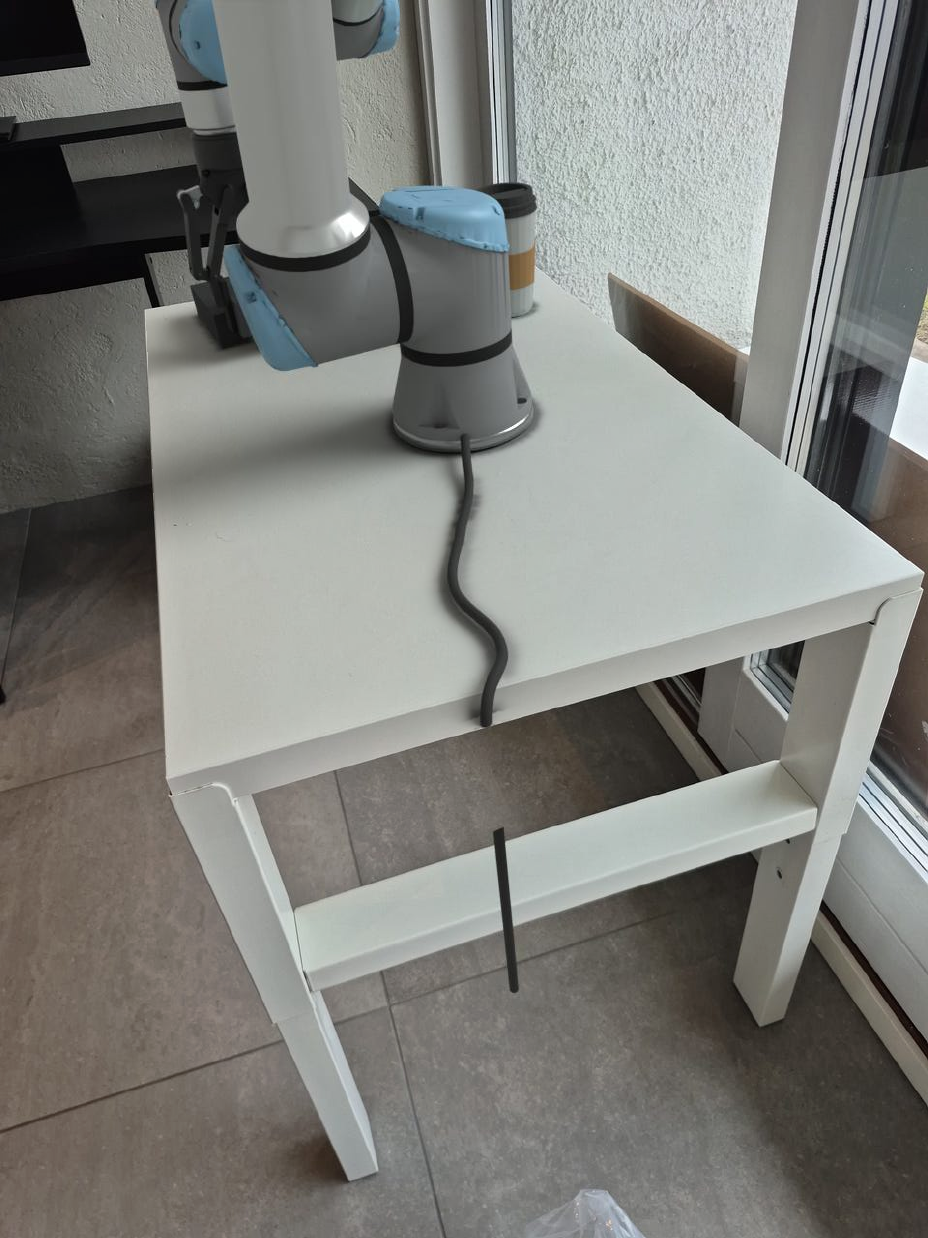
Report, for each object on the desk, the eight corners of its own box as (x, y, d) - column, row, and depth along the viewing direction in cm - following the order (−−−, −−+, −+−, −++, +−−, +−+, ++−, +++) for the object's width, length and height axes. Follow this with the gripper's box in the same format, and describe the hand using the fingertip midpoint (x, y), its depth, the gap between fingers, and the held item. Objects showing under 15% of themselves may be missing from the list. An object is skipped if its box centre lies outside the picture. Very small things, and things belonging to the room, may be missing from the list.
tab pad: (302, 322, 117) (295, 288, 114) (242, 338, 114) (234, 303, 111) (283, 302, 123) (276, 268, 120) (225, 316, 120) (217, 282, 117)
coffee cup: (468, 306, 124) (458, 189, 114) (522, 292, 126) (517, 177, 117) (495, 326, 118) (487, 204, 108) (551, 311, 120) (548, 190, 111)
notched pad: (307, 326, 123) (300, 293, 121) (221, 348, 120) (212, 315, 117) (277, 296, 133) (271, 266, 131) (198, 316, 130) (189, 285, 127)
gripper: (298, 105, 108) (331, 293, 123) (124, 137, 102) (181, 331, 117) (318, 115, 103) (350, 310, 118) (135, 149, 97) (194, 351, 112)
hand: (266, 320), depth 117 cm, fingers closed on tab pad, 8 cm apart
